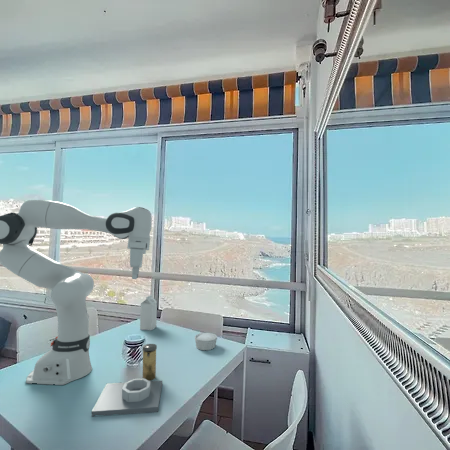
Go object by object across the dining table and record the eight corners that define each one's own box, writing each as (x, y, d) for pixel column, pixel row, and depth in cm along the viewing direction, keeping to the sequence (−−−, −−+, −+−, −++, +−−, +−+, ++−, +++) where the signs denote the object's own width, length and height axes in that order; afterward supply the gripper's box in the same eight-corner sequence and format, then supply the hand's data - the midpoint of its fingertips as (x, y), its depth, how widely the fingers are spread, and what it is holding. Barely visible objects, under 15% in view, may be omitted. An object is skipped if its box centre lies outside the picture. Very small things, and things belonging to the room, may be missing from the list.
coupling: (155, 382, 106) (155, 350, 107) (140, 382, 106) (141, 350, 106) (157, 372, 114) (157, 342, 114) (143, 372, 113) (144, 342, 113)
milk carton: (139, 329, 162) (140, 297, 163) (145, 325, 169) (146, 294, 170) (151, 330, 161) (152, 297, 162) (156, 326, 168) (157, 294, 169)
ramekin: (196, 342, 145) (196, 332, 146) (217, 342, 145) (217, 332, 145) (193, 351, 134) (193, 340, 134) (216, 352, 134) (216, 341, 134)
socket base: (91, 416, 86) (91, 401, 86) (106, 387, 102) (106, 375, 102) (157, 411, 89) (158, 397, 89) (162, 384, 105) (162, 372, 105)
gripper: (132, 246, 127) (129, 277, 125) (129, 242, 108) (124, 279, 106) (146, 247, 129) (143, 278, 127) (145, 244, 109) (142, 280, 107)
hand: (135, 278), depth 116 cm, fingers open, 8 cm apart
